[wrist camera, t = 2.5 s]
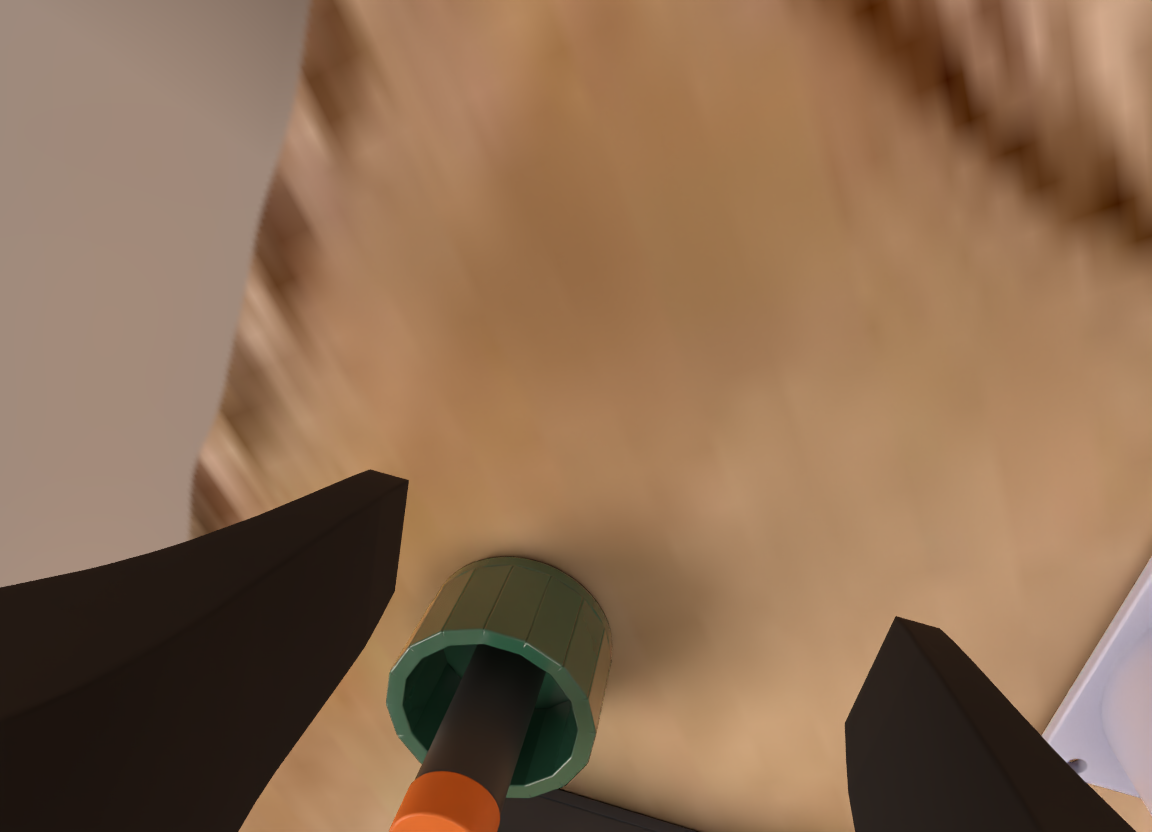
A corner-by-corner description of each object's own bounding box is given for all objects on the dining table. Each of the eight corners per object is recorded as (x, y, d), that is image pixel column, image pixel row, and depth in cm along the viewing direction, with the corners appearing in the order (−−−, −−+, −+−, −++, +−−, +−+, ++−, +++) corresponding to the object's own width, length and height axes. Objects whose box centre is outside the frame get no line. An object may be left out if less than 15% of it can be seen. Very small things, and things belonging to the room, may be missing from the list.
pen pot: (631, 586, 22) (615, 667, 19) (591, 729, 24) (571, 822, 21) (443, 534, 23) (397, 604, 19) (422, 679, 25) (378, 763, 22)
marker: (559, 627, 22) (493, 833, 16) (546, 684, 23) (477, 900, 17) (486, 606, 23) (391, 801, 16) (475, 664, 24) (382, 870, 17)
